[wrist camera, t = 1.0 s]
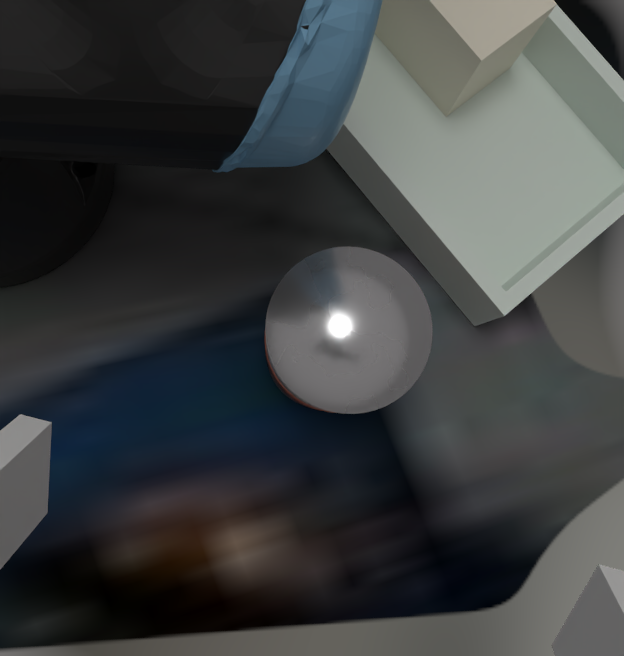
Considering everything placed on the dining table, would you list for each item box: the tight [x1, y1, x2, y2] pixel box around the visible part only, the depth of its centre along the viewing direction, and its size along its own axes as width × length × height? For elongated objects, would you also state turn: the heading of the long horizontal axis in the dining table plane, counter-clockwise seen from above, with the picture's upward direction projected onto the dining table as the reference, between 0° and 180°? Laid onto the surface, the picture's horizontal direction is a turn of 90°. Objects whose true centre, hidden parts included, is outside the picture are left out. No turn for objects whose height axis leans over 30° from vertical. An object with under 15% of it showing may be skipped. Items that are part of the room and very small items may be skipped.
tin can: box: [265, 246, 433, 414], centre depth 28 cm, size 7×7×12 cm
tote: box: [326, 5, 624, 326], centre depth 34 cm, size 22×16×4 cm
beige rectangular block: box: [375, 0, 557, 117], centre depth 33 cm, size 8×6×6 cm
